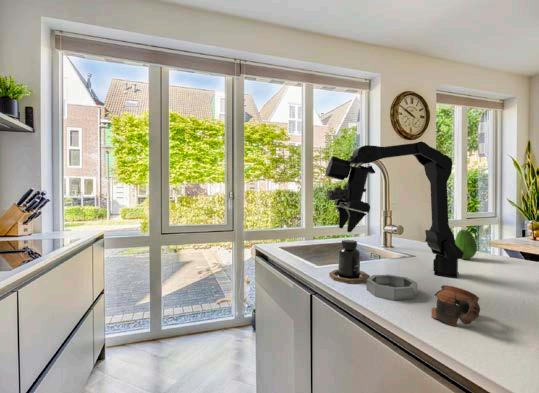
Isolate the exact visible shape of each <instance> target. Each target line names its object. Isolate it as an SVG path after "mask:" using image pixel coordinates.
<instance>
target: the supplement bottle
mask: <svg viewBox="0 0 539 393" xmlns="http://www.w3.org/2000/svg"><path fill="white" fill-rule="evenodd" d="M357 247H358V241H356V240H353V239H343V240H341V248H340V249H339V250H338V269H337V270H338V274H337V275H338V277H341V278H347V279H358V278H361V275H360V271H361V268H360V267H361V252H360V250H359V249H357Z"/></svg>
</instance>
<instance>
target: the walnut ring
mask: <svg viewBox="0 0 539 393" xmlns="http://www.w3.org/2000/svg"><path fill="white" fill-rule="evenodd" d="M328 274H329V275H328V277H329V278H331V279H332V281H335V282H341V283H345V284H363V283H367V279H368V278H369V277H371V275H370V274H368V273H366V272H365V271H362V270H360V277H359V278H358V279H347V278H341V277H339V276H338V275H339V274H338V269H334V270H332V271H330V272H329V273H328Z"/></svg>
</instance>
